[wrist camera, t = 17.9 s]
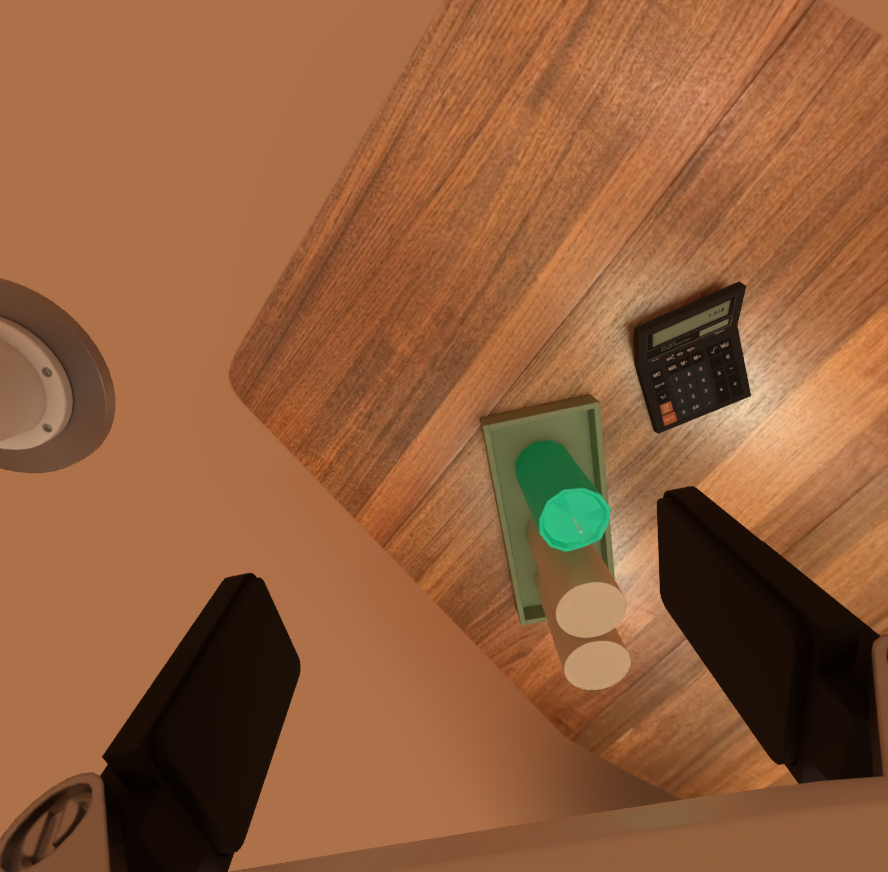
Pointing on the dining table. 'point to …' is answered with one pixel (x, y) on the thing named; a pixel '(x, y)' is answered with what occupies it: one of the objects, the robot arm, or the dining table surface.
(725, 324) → the calculator
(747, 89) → the dining table surface
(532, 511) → the candle
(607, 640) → the cream candle
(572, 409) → the tray
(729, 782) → the dining table surface
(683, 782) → the dining table surface
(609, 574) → the cream candle
